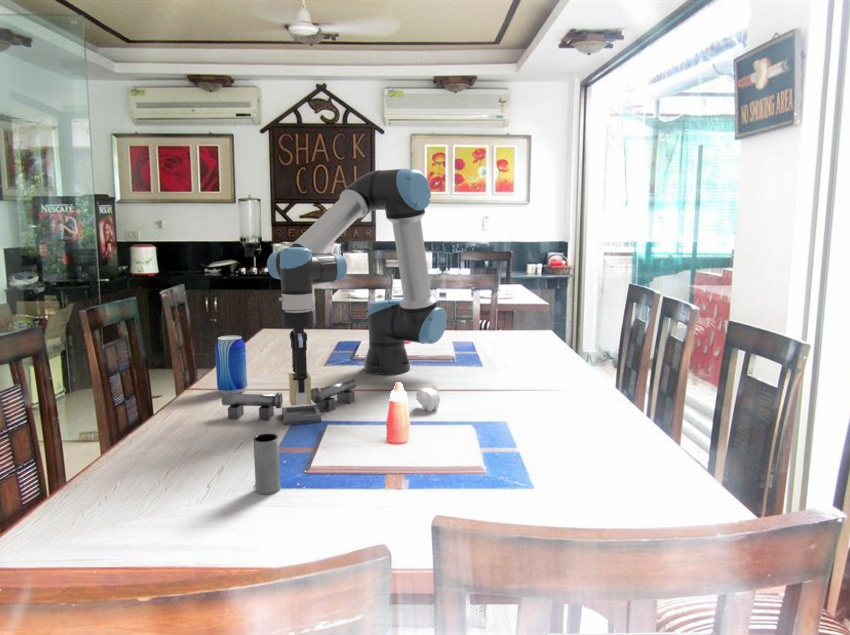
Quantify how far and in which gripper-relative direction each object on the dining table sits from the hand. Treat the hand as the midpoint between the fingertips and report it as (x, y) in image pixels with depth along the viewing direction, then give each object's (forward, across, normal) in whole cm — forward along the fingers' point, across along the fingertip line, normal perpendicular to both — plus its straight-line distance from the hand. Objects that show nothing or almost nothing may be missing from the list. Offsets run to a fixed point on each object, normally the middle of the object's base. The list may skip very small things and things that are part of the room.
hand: (300, 400), depth 165 cm
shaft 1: (+5, -4, -12) cm, 14 cm away
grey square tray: (+5, 0, 0) cm, 5 cm away
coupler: (0, 0, 0) cm, 0 cm away
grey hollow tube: (+5, +42, -10) cm, 43 cm away
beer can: (+5, -31, -17) cm, 36 cm away
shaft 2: (+4, -8, +10) cm, 14 cm away
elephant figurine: (+5, +2, +33) cm, 33 cm away
